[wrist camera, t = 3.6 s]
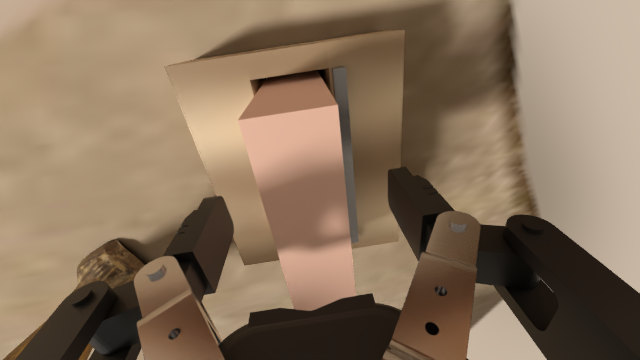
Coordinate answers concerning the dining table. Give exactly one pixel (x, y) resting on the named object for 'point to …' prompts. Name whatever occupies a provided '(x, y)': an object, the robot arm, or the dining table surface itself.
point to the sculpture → (99, 278)
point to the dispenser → (354, 116)
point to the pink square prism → (302, 184)
